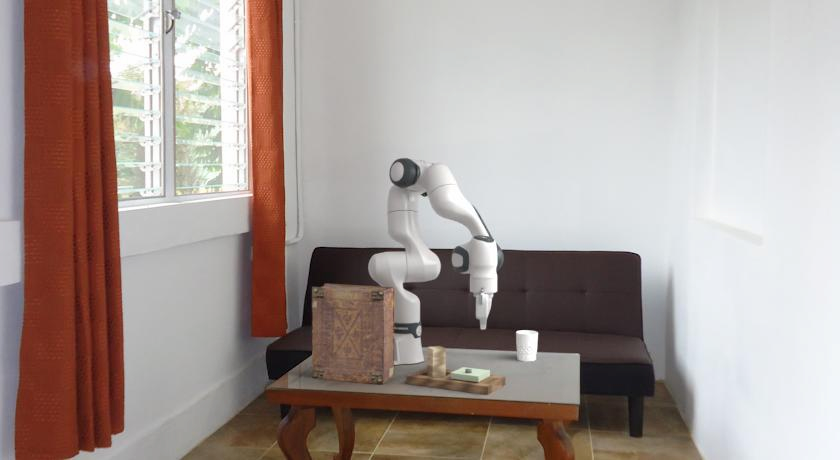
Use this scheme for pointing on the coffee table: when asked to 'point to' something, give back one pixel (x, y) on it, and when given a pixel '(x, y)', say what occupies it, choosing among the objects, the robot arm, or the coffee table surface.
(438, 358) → the maple block
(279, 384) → the coffee table surface
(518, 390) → the coffee table surface
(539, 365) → the coffee table surface
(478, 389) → the puzzle board
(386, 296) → the book
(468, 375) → the lid
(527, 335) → the white cup
